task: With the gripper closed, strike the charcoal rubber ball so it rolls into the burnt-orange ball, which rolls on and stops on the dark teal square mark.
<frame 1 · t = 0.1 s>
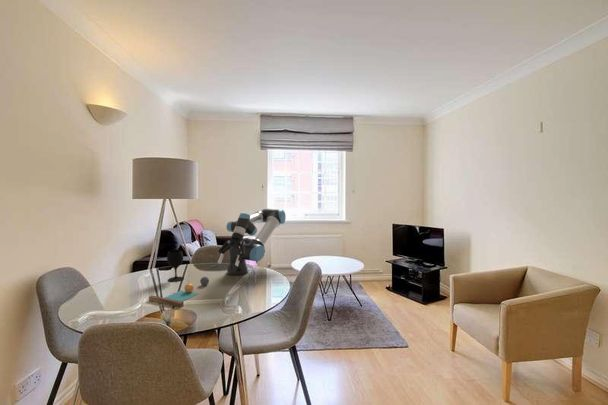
hand: (227, 264, 199), 15 cm above the table, tool tilted 35°, fingers open, 13 cm apart
stopper wall: (165, 303, 176), on the table
orange ball: (189, 288, 192), on the table
wine glass: (176, 279, 217), on the table
charcoal ball: (204, 280, 205), on the table
teal mark: (180, 296, 186), on the table
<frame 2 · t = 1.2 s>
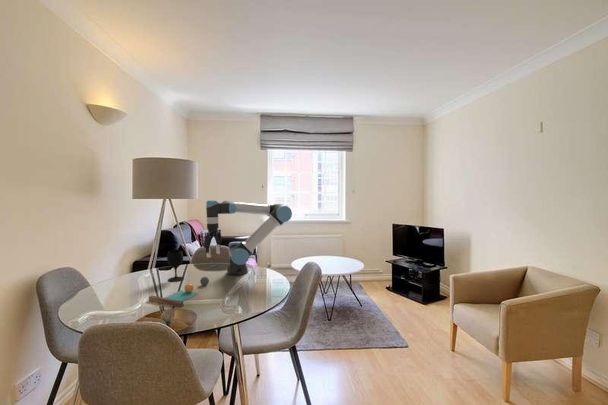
hand: (213, 255, 213), 18 cm above the table, tool pointing down, fingers open, 9 cm apart
nothing on the table moved.
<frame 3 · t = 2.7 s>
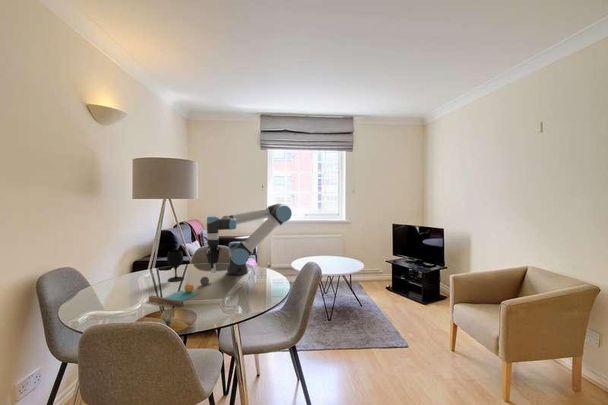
hand: (213, 272, 214), 6 cm above the table, tool pointing down, fingers closed
nothing on the table moved.
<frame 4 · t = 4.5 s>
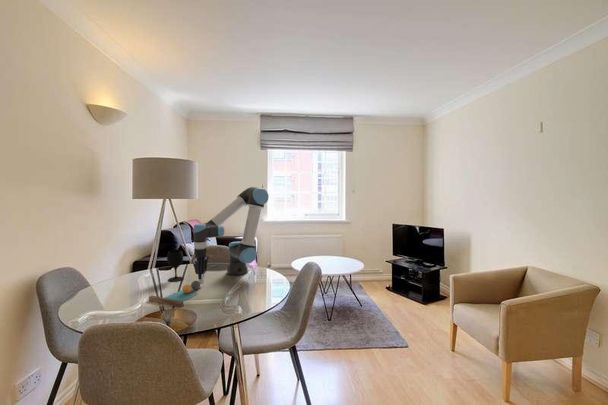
hand: (201, 283, 203), 2 cm above the table, tool pointing down, fingers closed
orange ball: (187, 288, 191), on the table
charcoal ball: (195, 285, 197), on the table
everything else where it was.
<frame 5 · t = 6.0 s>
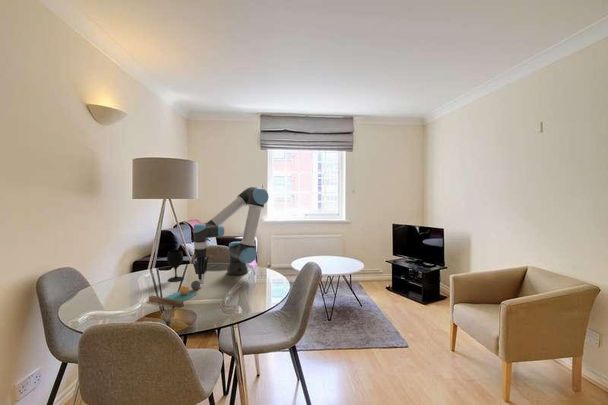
hand: (201, 283, 203), 2 cm above the table, tool pointing down, fingers closed
orange ball: (184, 290, 189), on the table
everything else where it was.
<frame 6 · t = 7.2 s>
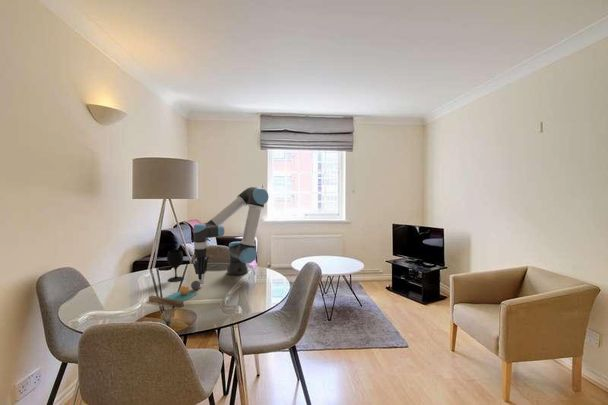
hand: (201, 283, 203), 2 cm above the table, tool pointing down, fingers closed
nothing on the table moved.
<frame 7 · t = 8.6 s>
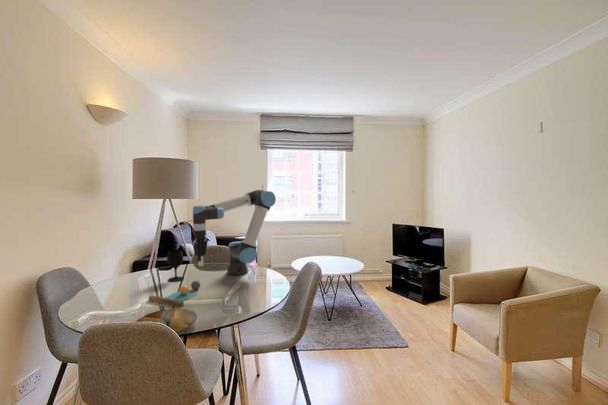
hand: (200, 265, 202), 14 cm above the table, tool pointing down, fingers closed
nothing on the table moved.
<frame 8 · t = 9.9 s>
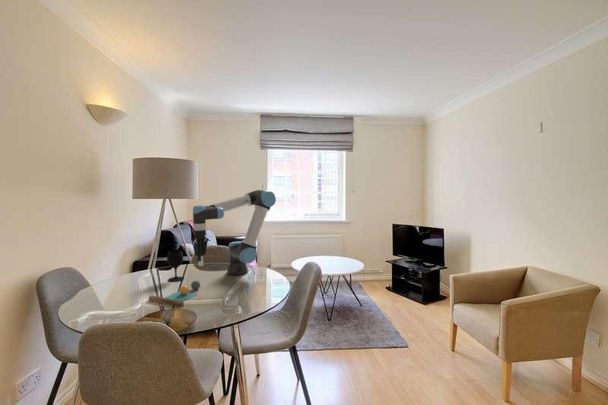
hand: (200, 265, 202), 14 cm above the table, tool pointing down, fingers closed
nothing on the table moved.
at the end: orange ball 2.9 cm from the teal mark (horizontally); orange ball never touched the robot; charcoal ball first touched orange ball at 4.3 s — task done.
